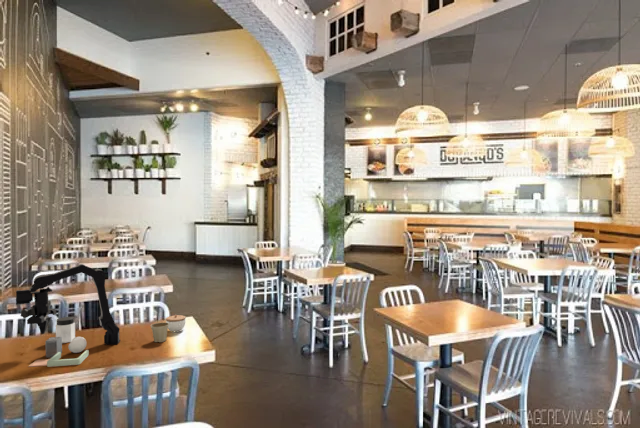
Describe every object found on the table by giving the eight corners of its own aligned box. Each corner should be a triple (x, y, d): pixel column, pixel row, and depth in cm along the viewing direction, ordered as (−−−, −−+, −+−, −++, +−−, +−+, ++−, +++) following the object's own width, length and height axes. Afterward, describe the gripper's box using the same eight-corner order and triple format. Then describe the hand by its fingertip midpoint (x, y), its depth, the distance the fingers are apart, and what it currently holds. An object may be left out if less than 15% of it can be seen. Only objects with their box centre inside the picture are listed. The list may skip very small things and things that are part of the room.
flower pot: (146, 342, 234) (146, 326, 234) (159, 337, 243) (159, 321, 243) (160, 344, 231) (160, 327, 231) (173, 339, 239) (172, 323, 239)
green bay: (58, 357, 212) (58, 352, 212) (88, 355, 214) (88, 350, 214) (47, 366, 199) (47, 361, 199) (79, 364, 202) (79, 359, 202)
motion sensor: (75, 349, 223) (75, 334, 223) (90, 350, 223) (89, 334, 222) (65, 354, 215) (64, 339, 215) (79, 355, 215) (79, 339, 214)
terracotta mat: (55, 359, 209) (55, 358, 209) (48, 365, 201) (48, 364, 201) (36, 360, 207) (36, 360, 207) (28, 366, 199) (28, 366, 199)
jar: (56, 344, 232) (56, 321, 232) (55, 340, 239) (55, 318, 239) (75, 341, 237) (75, 319, 237) (74, 337, 244) (74, 316, 244)
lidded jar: (163, 330, 256) (162, 314, 256) (180, 327, 263) (180, 311, 263) (171, 334, 248) (170, 318, 248) (189, 330, 255) (188, 314, 255)
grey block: (62, 352, 219) (61, 336, 218) (57, 357, 212) (56, 340, 212) (50, 353, 218) (49, 337, 217) (44, 357, 211) (44, 341, 211)
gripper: (31, 298, 223) (33, 329, 224) (13, 307, 205) (15, 340, 205) (56, 297, 225) (57, 327, 226) (40, 305, 207) (42, 338, 207)
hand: (43, 333), depth 216 cm, fingers closed
